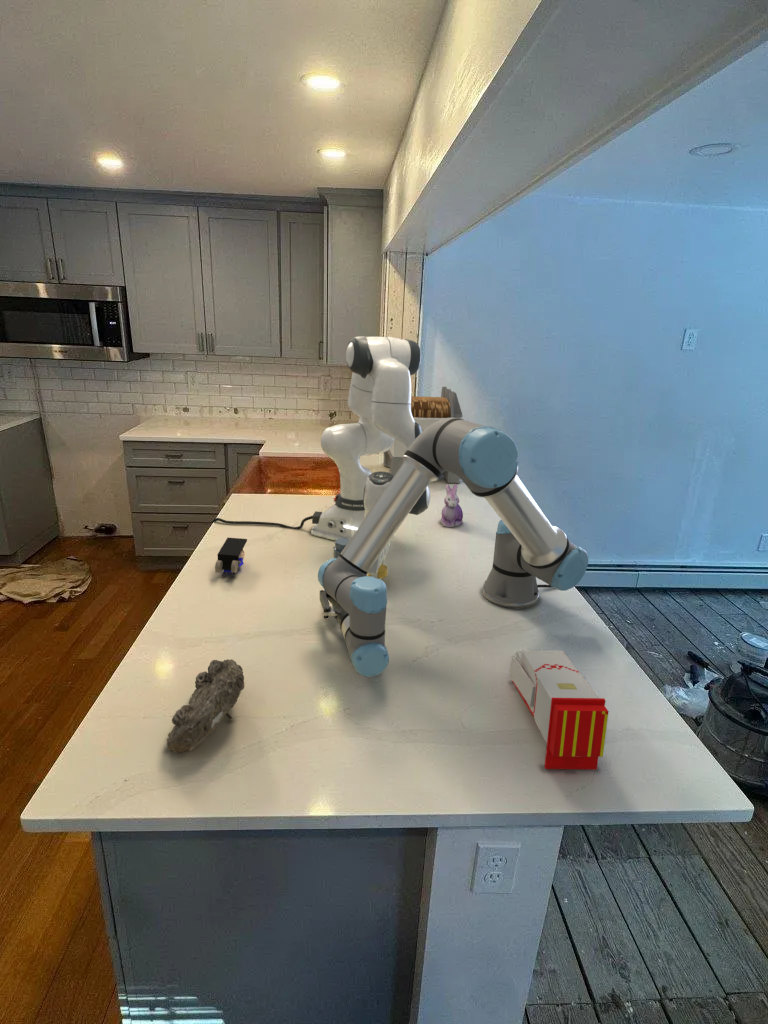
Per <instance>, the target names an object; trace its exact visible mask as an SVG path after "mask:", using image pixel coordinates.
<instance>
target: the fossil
mask: <svg viewBox="0 0 768 1024" xmlns="http://www.w3.org/2000/svg"><path fill="white" fill-rule="evenodd" d="M243 670H244V669H243V667H242V665H240V664H237V662H236V661H235V660H234V659H232V658H231V659H227V658H226V659H224V660H223V661H222V660H217V659H212V660H211V661H210V663H209V665H208V666H207V671H201V672H199V673H198V674H197V675H196V676H195V680H194V684H195V685H194V687H195V689H194V690H193V693H192V694H191V697H190V698H189V700H188V704H184V705H182V706H181V707H180V709H177V710H176V711H175V713H174V715H173V716H172V718H171V723H172V724H173V727H172V730H171V731H170V732H168V734H167V738H166V741H167V742H166V745H167V749H168V750H169V751H173V752H174V753H176V754H178V753H182V752H188V751H189V752H192V751H193V750H195V748H196V747H197V746H199V744H200V743H201V742H203V741H204V740H205V739H206V738H207V737H208V736H209V735H210V734H211V733H212V732H214V730H215V729H217V727H218V726H219V724H220V722H221V721H222V720H223V719H224V718H225V716H226V717H227V719H229V720H233V717H232V715H230V714H229V710H230V709H231V708H234V706H235V704H236V703H237V702H238V699H239V697H240V695H241V693H242V691H243V690H245V689H244V688H245V675H244V671H243Z"/></svg>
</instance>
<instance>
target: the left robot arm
mask: <svg viewBox="0 0 768 1024" xmlns="http://www.w3.org/2000/svg"><path fill="white" fill-rule="evenodd" d="M345 350H346V351H345V360H346V366H347V368H348V369H349V370H350V371H351V378H350V383H349V384H350V385H349V391H348V397H347V406H348V408H349V410H350V412H352V413H353V414H354V415H355V416H357V417H358V421H357V422H352V423H340V424H339V423H338V424H335V425H331V426H329V427H326V428H325V429H324V430H323V432H322V434H321V437H320V447H321V450H322V451H323V453H324V454H325V455H326V456H327V457H328V458H330V459H331V460H332V461H333V462H334V464H335V465H336V467H337V470H338V473H339V482H340V484H339V485H340V488H339V489H340V490H339V491H338V492H337V494H336V495H335V496H334V497H333V502H334V504H333V505H331V506H329V507H328V508H326V509H325V510H323V511H314V512H313V514H312V515H310V516H307V517H305V518H303V519H302V520H301V522H300V525H299V526H290V525H287V524H285V523H284V524H283V523H279V522H268V521H251V520H249V521H248V520H239V521H238V520H226V519H223V518H221V517H215V518H213V519H212V520H211V523H215V522H221V523H224V524H226V525H227V524H228V525H260V526H261V525H262V526H275V527H281V528H284V529H291V530H301V529H302V528H303V527H304V524H305V522H307V521H310V520H311V524H312V525H313V526H312V528H311V530H310V533H311V536H315V537H319V538H323V539H326V540H330V541H334V542H335V541H336V540H337V539H339V538H347V539H351V538H352V536H353V535H354V533H355V532H356V531H357V529H358V528H359V526H360V525H361V523H362V522H363V520H364V519H365V518H366V516H367V515H368V513H369V512H370V510H371V509H372V507H373V506H374V504H375V503H376V502H377V500H378V499H379V497H380V496H381V494H382V493H383V491H384V490H385V489H386V487H387V486H388V484H389V483H390V481H391V480H392V478H393V477H394V476H393V475H392V474H390V472H387V471H374V472H372V471H371V469H369V468H368V467H366V466H364V465H362V464H361V461H360V458H361V457H364V456H365V457H366V456H367V457H368V456H376V455H380V454H384V452H386V451H388V450H390V449H391V447H392V445H393V443H394V438H395V439H397V440H399V441H400V442H402V443H403V444H405V445H406V446H407V448H409V446H410V445H411V444H412V442H413V441H414V440H415V439H416V438H417V437H418V436H419V435H420V434H421V433H422V430H421V427H420V425H419V424H418V423H417V422H415V420H414V418H413V416H412V413H411V396H412V380H411V376H413V375H415V374H416V373H417V372H418V371H419V369H420V367H421V363H422V350H421V347H420V345H419V343H417V342H416V341H414V340H411V339H407V338H405V339H403V338H399V337H393V336H386V335H385V336H366V335H358V336H353V337H352V338H351V339H350V340H349V341H348V343H347V347H346V349H345ZM430 502H431V491H430V487H429V485H428V486H427V488H426V489H425V491H424V492H423V494H422V495H421V496H420V498H419V499H418V501H417V502H416V504H415V505H414V507H413V508H412V509H411V511H410V512H409V514H410V515H415V516H418V515H421V514H422V513H423V512H425V511H426V510H427V509H429V506H430ZM409 514H408V515H409ZM394 538H395V534H394V535H393V537H392V538H391V540H393V539H394ZM391 540H390V541H389V543H388V544H387V545H386V547H385V548H384V550H383V551H382V553H381V554H380V556H379V557H378V558H377V560H376V561H375V563H374V564H373V566H372V567H371V569H370V570H369V571H368V573H369V574H371V577H375V578H376V579H378V570H379V568H380V566H381V564H383V565H384V562H385V559H386V556H387V554H388V553H389V550H390V548H391V542H392V541H391Z"/></svg>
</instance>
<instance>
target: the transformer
mask: <svg viewBox="0 0 768 1024" xmlns="http://www.w3.org/2000/svg"><path fill="white" fill-rule="evenodd" d="M440 393H441V394H440V396H415V395H414V396H413V395H411V413H412V416H413V418H414V420H415V422H417V423H418V424H419V425H420V427H421V430H422V432H423V431H424V430H425V429H426V428H427V427H429V426H430V425H432V424H433V423H435V422H437V421H439V420H441V419H444V418H451V417H454V418H460V419H463V420H465V419H464V418H463V411H462V408H461V405H460V402H459V398H458V395H457V392H455V391H453V390H452V389H451V388H447V386H442V387H441V392H440ZM407 449H408V448H407V446H406V445H405V444H403V443H402V442H400V441H399V440H397V439H395V438H394V443H393V445H392V447H391V449H390V450H388V451H386V452H383V466H384V467H388V468H389V473H390V474H392V475H393V476H395V474H396V473H397V471H398V470H399V468H400V467H401V465H402V464H403V457H402V456H403V455H404V453H405V452H406V451H407ZM441 475H443V478H444V479H445V481H446V482H447V483H449V484H459V483H461V478H460V477H458V476H457V475H455V474H453V473H451V472H448V471H444V472H443V473H442V474H441Z"/></svg>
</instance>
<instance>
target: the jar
mask: <svg viewBox="0 0 768 1024" xmlns="http://www.w3.org/2000/svg"><path fill="white" fill-rule="evenodd" d="M349 541H350V539H347V538H339V539H337V540H336V541H335V540H334V546H333V547H332V559H334V558H335V559H337V558H338V557H339V555H340V554H341V552H342V551H343V549H344V548H345V546H346V545H347V544H348V542H349ZM331 608H332V609H333V610H334V611H335V610H336V608H335V607H334V606H333V605H332V604H331Z"/></svg>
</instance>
